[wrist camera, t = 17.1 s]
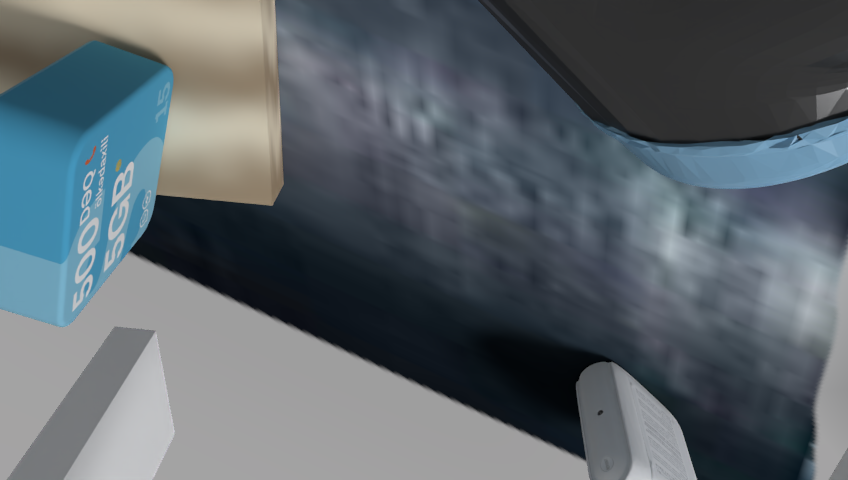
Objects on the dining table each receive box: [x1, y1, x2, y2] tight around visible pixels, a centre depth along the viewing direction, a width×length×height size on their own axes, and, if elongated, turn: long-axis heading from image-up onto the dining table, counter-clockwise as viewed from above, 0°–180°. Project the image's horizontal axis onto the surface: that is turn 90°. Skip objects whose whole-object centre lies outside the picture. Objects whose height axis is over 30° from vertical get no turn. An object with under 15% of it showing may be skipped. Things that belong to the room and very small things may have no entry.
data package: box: [0, 40, 174, 327], centre depth 37 cm, size 12×4×12 cm, turn 160°
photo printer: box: [576, 362, 697, 480], centre depth 50 cm, size 10×4×12 cm, turn 45°
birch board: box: [0, 0, 284, 205], centre depth 41 cm, size 17×16×3 cm
